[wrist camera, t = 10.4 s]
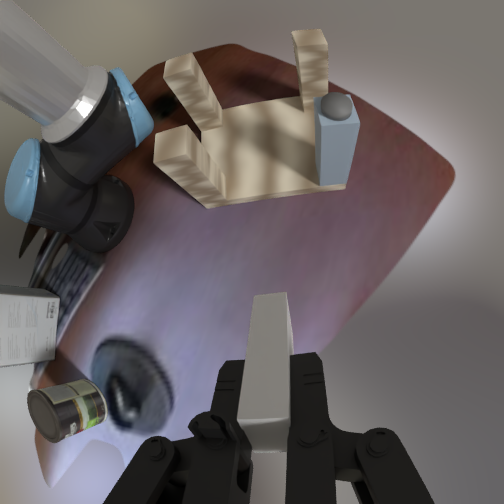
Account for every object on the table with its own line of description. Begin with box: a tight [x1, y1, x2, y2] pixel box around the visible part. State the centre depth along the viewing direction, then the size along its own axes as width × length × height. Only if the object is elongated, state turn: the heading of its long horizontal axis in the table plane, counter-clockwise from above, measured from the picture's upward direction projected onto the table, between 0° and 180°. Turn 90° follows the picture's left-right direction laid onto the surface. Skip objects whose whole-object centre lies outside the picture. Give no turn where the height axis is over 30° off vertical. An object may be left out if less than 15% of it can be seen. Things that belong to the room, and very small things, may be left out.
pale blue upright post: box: [313, 92, 360, 186], centre depth 31 cm, size 4×4×16 cm
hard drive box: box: [0, 285, 60, 367], centre depth 39 cm, size 16×8×20 cm, turn 169°
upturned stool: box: [153, 29, 346, 209], centre depth 36 cm, size 22×18×17 cm
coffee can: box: [27, 379, 108, 443], centre depth 37 cm, size 10×10×14 cm
